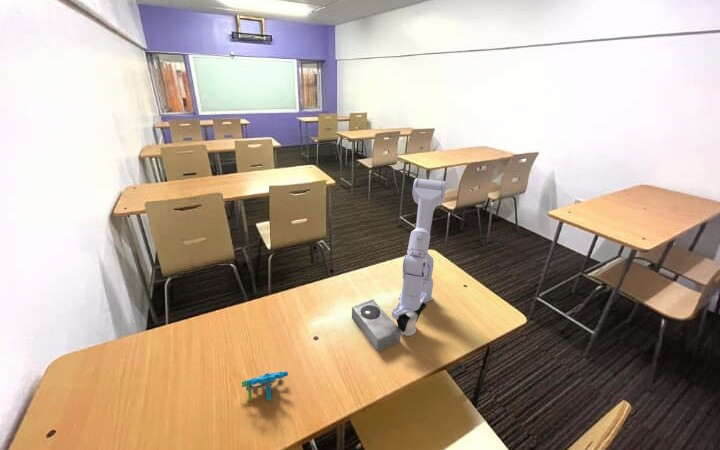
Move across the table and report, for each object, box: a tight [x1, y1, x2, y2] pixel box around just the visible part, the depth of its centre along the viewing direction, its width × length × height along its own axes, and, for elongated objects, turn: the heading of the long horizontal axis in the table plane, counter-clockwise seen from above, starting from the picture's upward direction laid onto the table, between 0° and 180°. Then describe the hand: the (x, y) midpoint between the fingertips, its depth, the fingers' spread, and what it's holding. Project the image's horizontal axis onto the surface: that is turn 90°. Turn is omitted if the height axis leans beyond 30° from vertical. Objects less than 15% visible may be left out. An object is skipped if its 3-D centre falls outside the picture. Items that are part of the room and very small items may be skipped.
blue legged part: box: [241, 370, 289, 401], centre depth 74 cm, size 11×6×10 cm
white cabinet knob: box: [401, 311, 418, 337], centre depth 94 cm, size 6×6×6 cm
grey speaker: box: [351, 299, 402, 352], centre depth 94 cm, size 8×16×5 cm, turn 30°
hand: (407, 325), depth 95 cm, fingers closed on white cabinet knob, 5 cm apart
